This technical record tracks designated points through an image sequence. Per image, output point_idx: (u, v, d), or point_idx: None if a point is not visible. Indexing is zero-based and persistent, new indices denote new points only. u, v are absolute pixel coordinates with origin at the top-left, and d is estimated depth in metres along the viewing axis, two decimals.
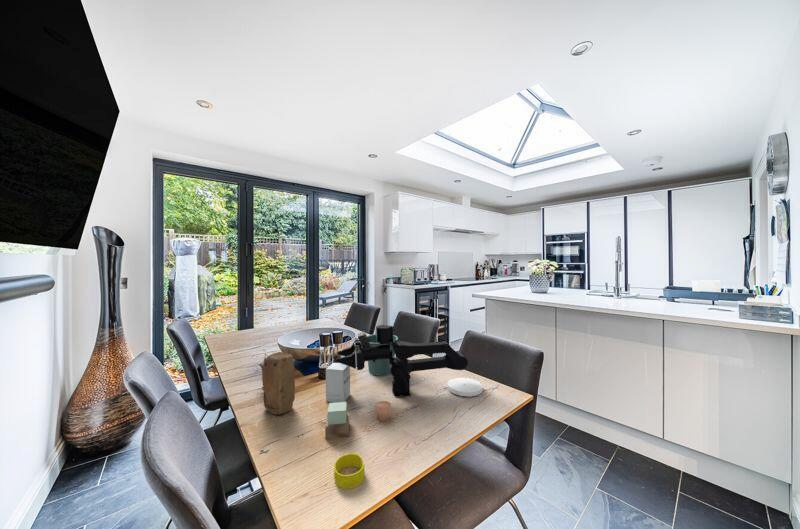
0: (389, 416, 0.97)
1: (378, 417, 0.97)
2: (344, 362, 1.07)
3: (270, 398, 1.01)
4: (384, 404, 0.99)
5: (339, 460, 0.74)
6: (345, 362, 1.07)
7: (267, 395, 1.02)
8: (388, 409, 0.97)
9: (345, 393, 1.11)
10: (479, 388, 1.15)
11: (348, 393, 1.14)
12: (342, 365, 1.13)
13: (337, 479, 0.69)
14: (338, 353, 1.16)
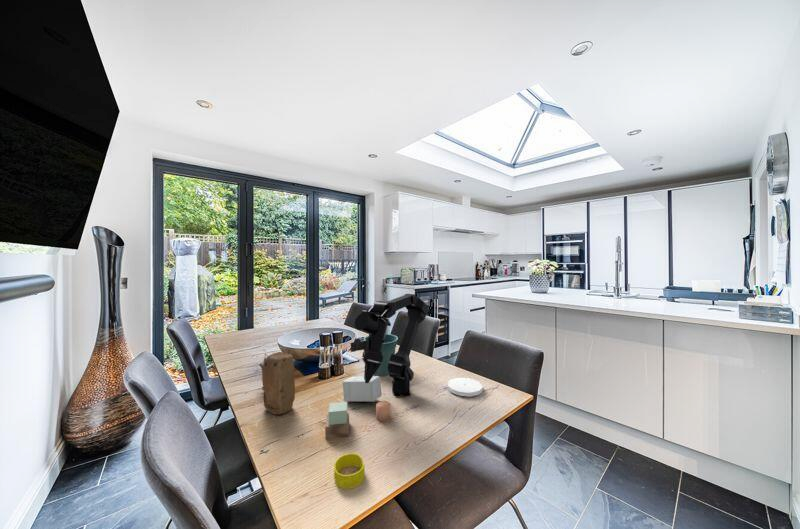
0: (389, 416, 0.97)
1: (378, 417, 0.97)
2: (371, 374, 0.95)
3: (270, 398, 1.01)
4: (384, 404, 0.99)
5: (339, 460, 0.74)
6: (371, 373, 0.95)
7: (267, 395, 1.02)
8: (388, 409, 0.97)
9: None
10: (479, 388, 1.15)
11: None
12: (378, 391, 1.09)
13: (337, 479, 0.69)
14: None
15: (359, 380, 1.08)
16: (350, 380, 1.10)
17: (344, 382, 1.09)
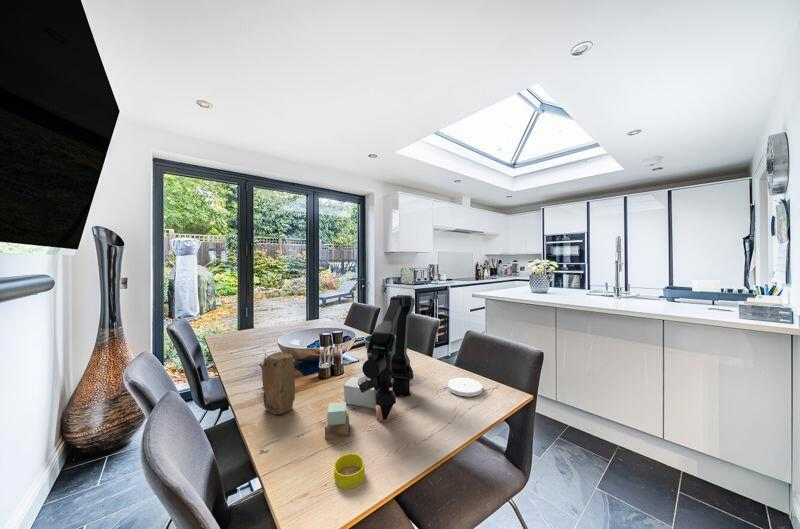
0: (389, 416, 0.97)
1: (378, 417, 0.97)
2: (387, 412, 0.93)
3: (270, 398, 1.01)
4: None
5: (339, 460, 0.74)
6: (387, 411, 0.93)
7: (267, 395, 1.02)
8: None
9: None
10: (479, 388, 1.15)
11: None
12: None
13: (337, 479, 0.69)
14: None
15: None
16: (351, 384, 1.08)
17: (345, 386, 1.08)
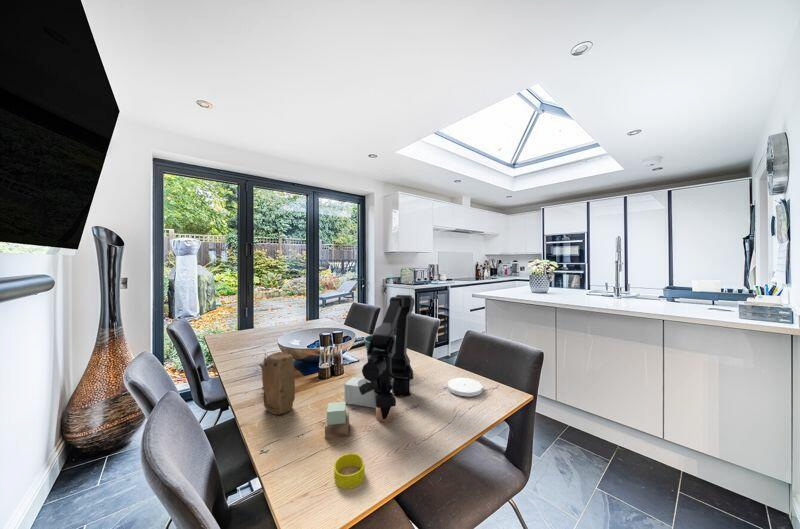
0: (389, 416, 0.97)
1: (378, 417, 0.97)
2: (386, 411, 0.95)
3: (270, 398, 1.01)
4: None
5: (339, 460, 0.74)
6: (386, 410, 0.95)
7: (267, 395, 1.02)
8: None
9: None
10: (479, 388, 1.15)
11: None
12: None
13: (337, 479, 0.69)
14: None
15: None
16: (352, 383, 1.09)
17: (346, 385, 1.08)
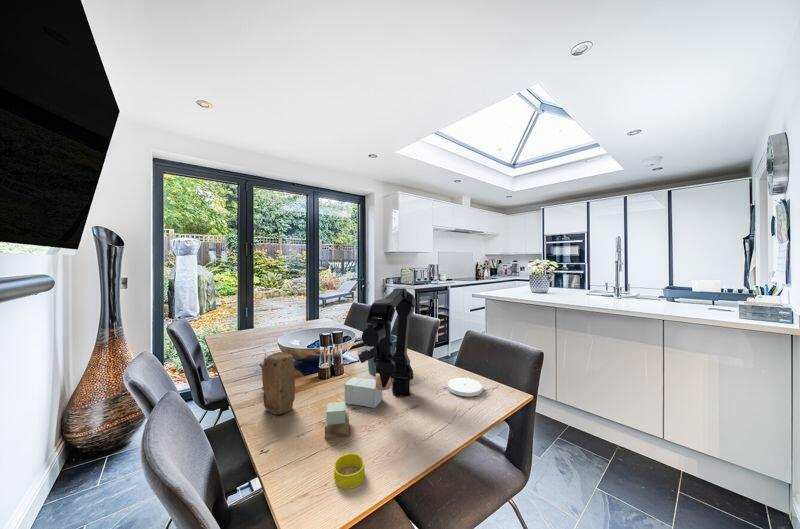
0: (389, 385, 0.97)
1: (378, 385, 0.96)
2: (386, 379, 0.95)
3: (270, 398, 1.01)
4: None
5: (339, 460, 0.74)
6: (386, 378, 0.95)
7: (267, 395, 1.02)
8: None
9: None
10: (479, 388, 1.15)
11: None
12: (379, 397, 1.09)
13: (337, 479, 0.69)
14: None
15: (361, 385, 1.07)
16: (352, 383, 1.09)
17: (346, 385, 1.08)
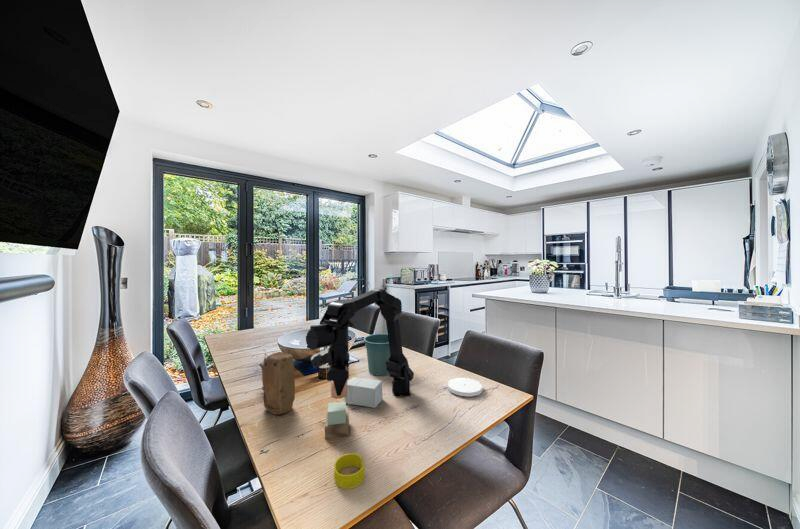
0: (345, 393, 0.90)
1: (333, 393, 0.89)
2: (341, 387, 0.88)
3: (270, 398, 1.01)
4: None
5: (339, 460, 0.74)
6: (341, 386, 0.87)
7: (267, 395, 1.02)
8: None
9: None
10: (479, 388, 1.15)
11: None
12: (379, 397, 1.09)
13: (337, 479, 0.69)
14: None
15: (361, 385, 1.07)
16: (352, 383, 1.09)
17: None
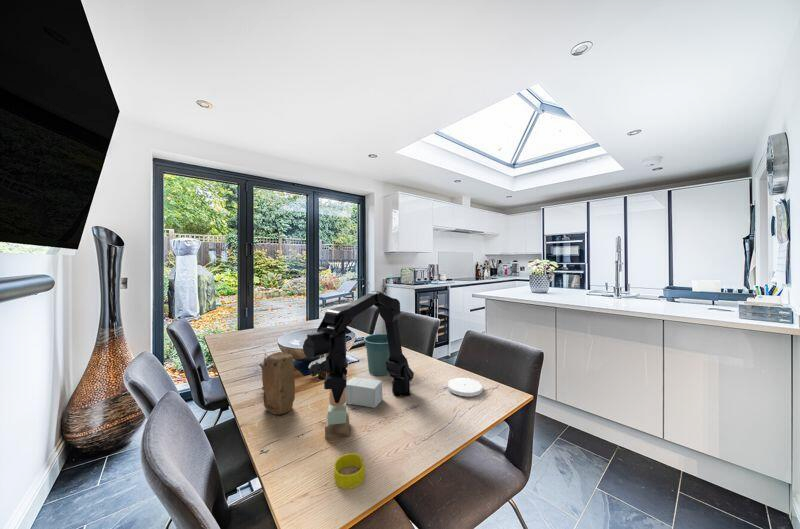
0: (343, 400, 0.90)
1: (331, 401, 0.89)
2: (339, 394, 0.88)
3: (270, 398, 1.01)
4: None
5: (339, 460, 0.74)
6: (339, 393, 0.87)
7: (267, 395, 1.02)
8: None
9: None
10: (479, 388, 1.15)
11: None
12: (379, 397, 1.09)
13: (337, 479, 0.69)
14: None
15: (361, 385, 1.07)
16: (352, 383, 1.09)
17: (346, 385, 1.08)
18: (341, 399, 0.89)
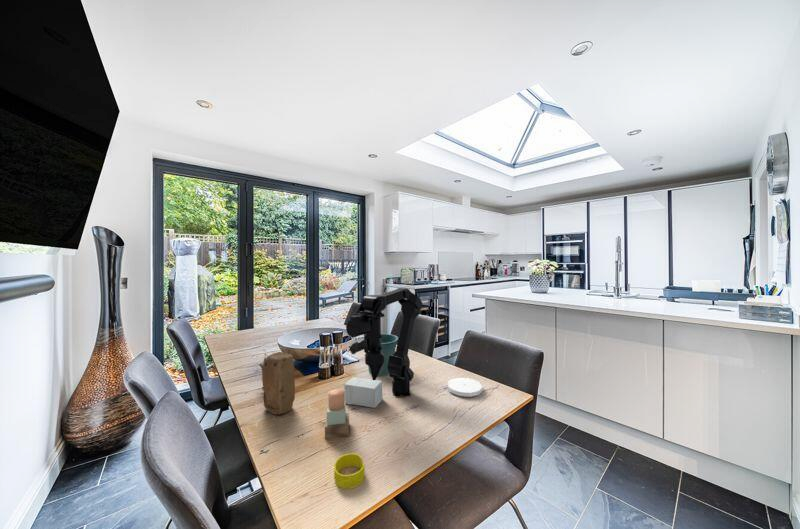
0: (342, 405, 0.90)
1: (330, 405, 0.89)
2: (376, 372, 0.97)
3: (270, 398, 1.01)
4: (337, 392, 0.91)
5: (339, 460, 0.74)
6: (376, 371, 0.97)
7: (267, 395, 1.02)
8: (340, 397, 0.89)
9: None
10: (479, 388, 1.15)
11: None
12: (379, 397, 1.09)
13: (337, 479, 0.69)
14: None
15: (361, 385, 1.07)
16: (352, 383, 1.09)
17: (346, 385, 1.08)
18: (340, 404, 0.89)
